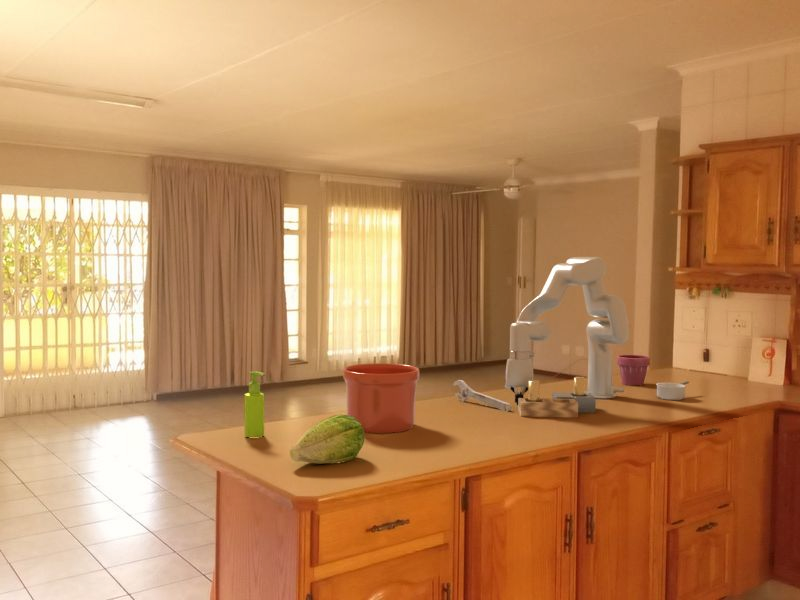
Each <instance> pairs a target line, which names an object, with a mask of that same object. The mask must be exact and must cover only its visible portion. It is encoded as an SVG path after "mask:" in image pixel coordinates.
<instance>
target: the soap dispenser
mask: <svg viewBox="0 0 800 600" xmlns="http://www.w3.org/2000/svg"><path fill="white" fill-rule="evenodd" d="M248 374H249V375H251V381H249V382H248V392H247V393H244V437H245V436H246V437H261V436H264V437H265V393H263V392H261V382H259V381H258V376H260V377H262V376H263V377H264V376H266V375H267V373H265V372H262V371H249V372H248Z"/></svg>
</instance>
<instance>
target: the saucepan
mask: <svg viewBox="0 0 800 600" xmlns="http://www.w3.org/2000/svg"><path fill="white" fill-rule="evenodd" d="M687 384H690V381H688V380H687V381H683V382H680V383H673V382H657V383H656V384H655V385H656V396H657V397H658V398H659V399H661V400H668V401H681V400H683V399H685V398H686V387H687Z"/></svg>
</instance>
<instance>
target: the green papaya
mask: <svg viewBox="0 0 800 600" xmlns="http://www.w3.org/2000/svg"><path fill="white" fill-rule="evenodd" d="M364 443H365V432H364V430H363V427H362V424H361V423H360V422H359V421H358V420H357V419H356V418H354V417H352V416H348V415H347V414H335V415H334V414H333V415H331V416H330V417H326V418H324V419H322V420H320V421H319V422H318V423H316V424H314V425H313V426H311V427H310V428H309V429H307V430H306V431H305V432H304V434H302V436H301V437H300V438H299V439H298V441H297V442H296V444H295V445H294V446H293V447H291V448H290V450H289V455H290V458H291V460H292V461H294V462H304V463H310V464H318V465H320V464H334V463H337V464H339V463H338V462H342V461H347V460H350V461H352V460H354V459H356V458H357V456H358V455H359V453H360V452H361V450H362V448H363V445H364ZM351 459H352V460H351ZM347 462H348V461H347ZM342 463H343V462H342Z"/></svg>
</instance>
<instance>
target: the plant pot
mask: <svg viewBox="0 0 800 600" xmlns="http://www.w3.org/2000/svg"><path fill="white" fill-rule="evenodd" d="M616 357H617V358H616V363H617V365H618V368H619V373H620V378H621V383H622V385H625V384H627V385H626V386H632V385H640V386H644V385H645V379H646V375H647V371H648V367H649V366H650V365H651V363H650V362H651V361H650V360H651V359H650V356H648V355H642V354H620V355H619V354H618V355H617V356H616Z"/></svg>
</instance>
